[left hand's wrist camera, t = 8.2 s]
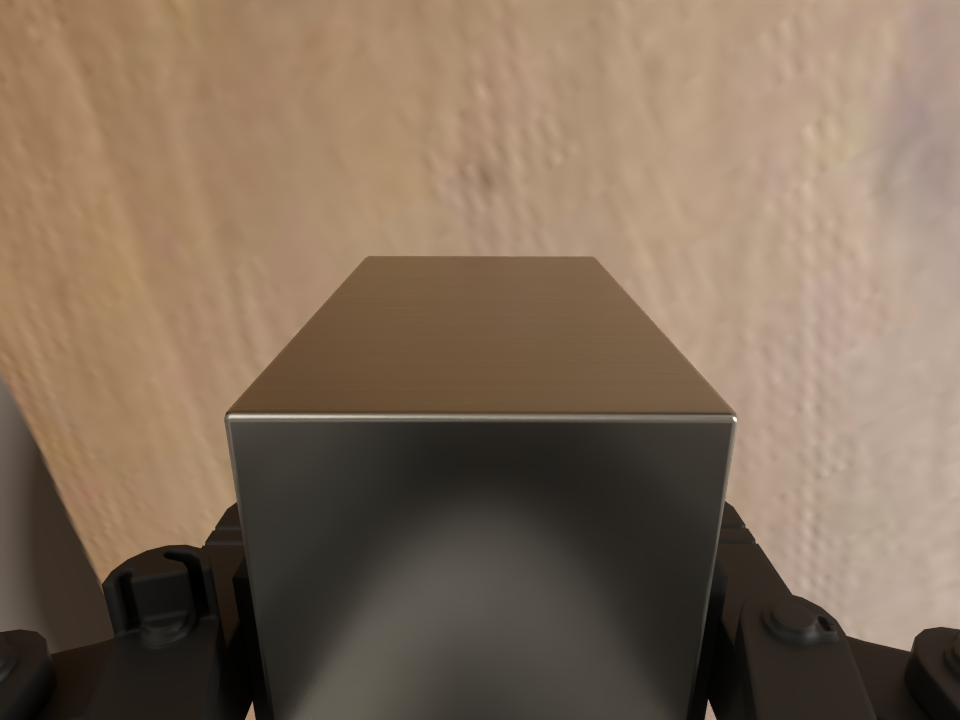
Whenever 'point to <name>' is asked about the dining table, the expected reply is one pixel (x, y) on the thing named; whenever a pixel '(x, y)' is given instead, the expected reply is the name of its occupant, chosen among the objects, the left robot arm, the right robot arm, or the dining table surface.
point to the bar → (480, 499)
